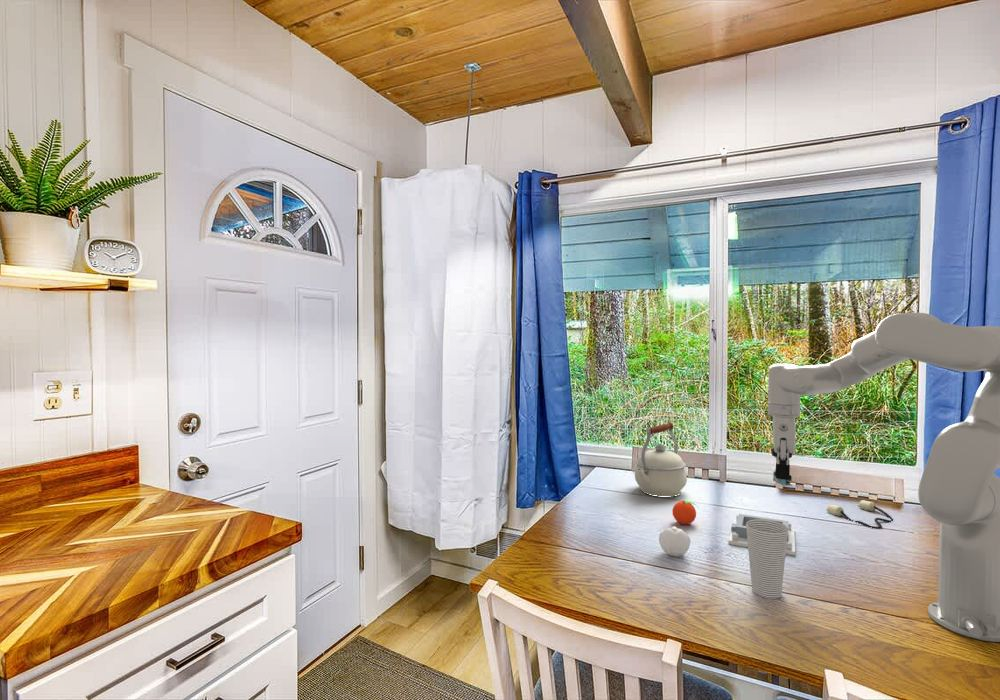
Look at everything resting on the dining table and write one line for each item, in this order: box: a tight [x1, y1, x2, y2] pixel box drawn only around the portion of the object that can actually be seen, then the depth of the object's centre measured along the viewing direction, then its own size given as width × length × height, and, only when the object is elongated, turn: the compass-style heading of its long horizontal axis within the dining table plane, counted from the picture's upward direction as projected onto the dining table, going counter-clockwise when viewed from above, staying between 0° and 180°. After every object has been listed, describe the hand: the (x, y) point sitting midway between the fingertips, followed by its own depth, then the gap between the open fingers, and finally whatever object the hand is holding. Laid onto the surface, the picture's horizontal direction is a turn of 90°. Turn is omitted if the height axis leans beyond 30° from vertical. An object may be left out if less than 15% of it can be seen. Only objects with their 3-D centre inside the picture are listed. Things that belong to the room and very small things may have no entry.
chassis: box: [728, 513, 796, 556], centre depth 144 cm, size 18×16×4 cm
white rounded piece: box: [658, 525, 691, 558], centre depth 134 cm, size 8×8×8 cm
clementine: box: [672, 500, 699, 525], centre depth 156 cm, size 8×7×7 cm
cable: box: [825, 499, 894, 529], centre depth 158 cm, size 16×16×4 cm
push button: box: [770, 447, 794, 487], centre depth 136 cm, size 7×5×10 cm
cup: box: [746, 519, 788, 600], centre depth 115 cm, size 8×8×16 cm
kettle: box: [634, 422, 688, 496], centre depth 185 cm, size 25×18×25 cm
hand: (782, 475), depth 137 cm, fingers closed on push button, 5 cm apart
